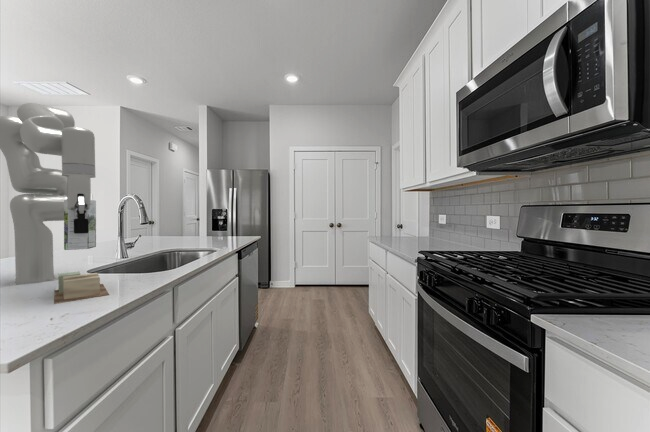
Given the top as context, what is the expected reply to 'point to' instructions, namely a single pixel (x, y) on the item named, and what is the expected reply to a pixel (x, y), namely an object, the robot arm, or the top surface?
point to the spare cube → (60, 279)
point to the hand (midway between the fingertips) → (80, 232)
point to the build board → (60, 298)
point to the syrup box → (81, 239)
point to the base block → (81, 285)
